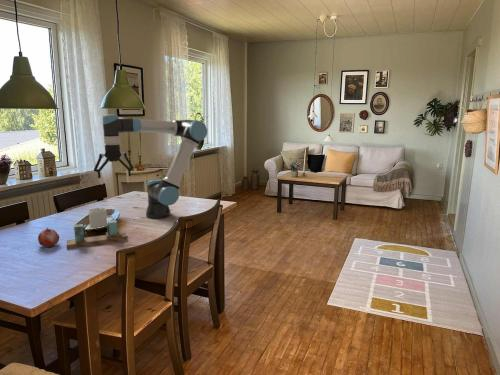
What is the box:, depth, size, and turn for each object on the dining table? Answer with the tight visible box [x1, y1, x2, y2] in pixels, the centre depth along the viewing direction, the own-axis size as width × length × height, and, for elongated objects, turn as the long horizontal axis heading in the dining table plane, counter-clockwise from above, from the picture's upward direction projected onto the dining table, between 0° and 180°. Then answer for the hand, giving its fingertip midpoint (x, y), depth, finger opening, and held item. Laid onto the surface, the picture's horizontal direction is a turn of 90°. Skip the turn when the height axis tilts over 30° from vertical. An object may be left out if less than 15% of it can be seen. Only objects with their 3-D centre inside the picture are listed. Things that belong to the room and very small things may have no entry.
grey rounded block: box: [88, 207, 108, 229], centre depth 208 cm, size 12×9×11 cm
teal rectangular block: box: [106, 219, 119, 236], centre depth 190 cm, size 5×4×8 cm
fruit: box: [37, 227, 60, 248], centre depth 182 cm, size 9×10×10 cm
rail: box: [66, 223, 128, 250], centre depth 187 cm, size 28×7×10 cm, turn 115°
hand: (115, 183), depth 201 cm, fingers open, 13 cm apart
